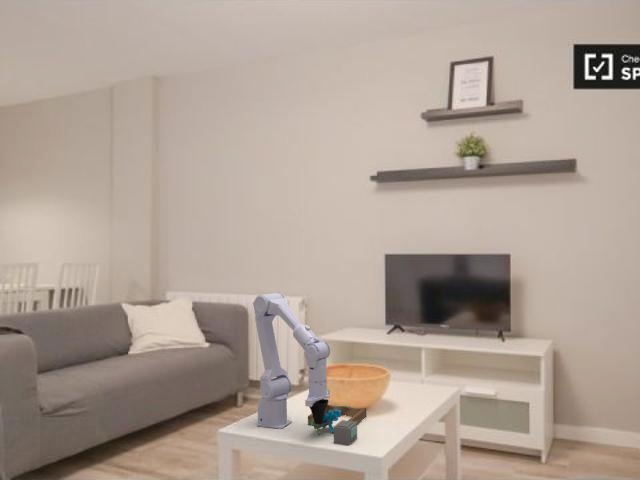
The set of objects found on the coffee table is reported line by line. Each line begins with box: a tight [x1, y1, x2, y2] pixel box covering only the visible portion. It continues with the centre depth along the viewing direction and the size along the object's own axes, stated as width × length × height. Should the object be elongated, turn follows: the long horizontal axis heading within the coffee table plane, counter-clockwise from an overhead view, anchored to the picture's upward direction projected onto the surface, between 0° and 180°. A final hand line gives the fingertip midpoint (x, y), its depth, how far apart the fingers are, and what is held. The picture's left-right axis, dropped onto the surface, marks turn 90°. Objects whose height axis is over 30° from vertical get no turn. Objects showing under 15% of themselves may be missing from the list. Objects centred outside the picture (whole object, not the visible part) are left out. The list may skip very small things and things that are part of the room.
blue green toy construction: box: [310, 409, 342, 436], centre depth 184 cm, size 11×6×10 cm
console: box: [332, 419, 358, 446], centre depth 175 cm, size 5×7×5 cm
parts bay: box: [307, 403, 367, 427], centre depth 195 cm, size 15×15×3 cm
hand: (318, 423), depth 180 cm, fingers closed
